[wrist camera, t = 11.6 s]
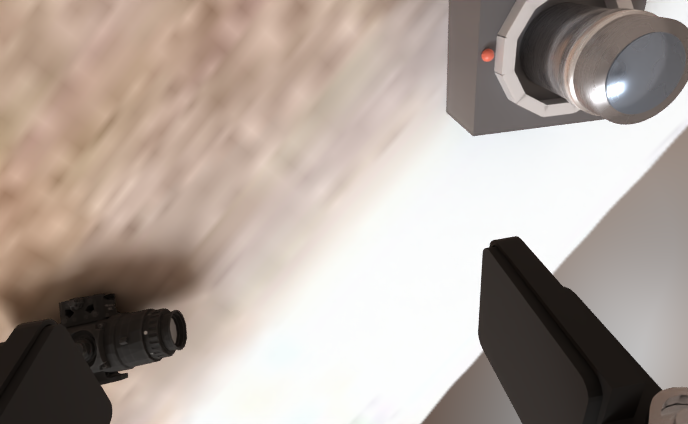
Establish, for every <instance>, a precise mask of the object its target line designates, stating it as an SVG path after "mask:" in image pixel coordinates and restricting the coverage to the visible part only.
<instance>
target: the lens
mask: <svg viewBox="0 0 688 424" xmlns="http://www.w3.org/2000/svg"><path fill="white" fill-rule="evenodd" d="M520 64H521V68H522V70H523V72H524V74H525V75H526V76H527V78H528V79H530V80H531V81H532V82H534V83H536V84H538V85H540V86H542V87H543V88H545V89H547V90H549V91H551V92H553V93H555V94H557V95H559V96H561V97H563V98H565V99H566V100H567V101H568V102H569V103H570V104H571V105H573V106H575V107H577V108H579V109H581V110H582V111H584V112H586V113H588V114H591V115H594V116H601V117H603V118H605V119H607V120H609V121H611V122H613V123H617V124H634V123H639V122H642V121H645V120H647V119H649V118H651V117H653V116H655V115H656V114H658V113H659V112H661V111H662V110H664V109H665V108H666V107H667V106H668V105H669V104H670V103H671V102H672V101H673V100H674V99H675V98H676V97H677V96H678V95H679V93H680V92H681V91H682V89H683V88H684V86H685V84H686V83H687V81H688V28H687V27H686V26H685V25H684V24H682V23H681V22H679V21H677V20H673V19H669V18H663V17H658V16H656V15H655V14H653V13H650V12H647V11H641V10H635V9H628V8H616V9H609V8H602V7H596V6H590V5H584V4H578V3H571V2H567V3H560V4H557V5H554V6H552V7H550V8H548V9H546V10H545V11H543V12H542V13H541V14H539V15H538V16H537V17H536V18H535V19H534V20H533V22H532V23H531V24H530V26H529V27H528V29H527V30H526V32H525V34H524V37H523V39H522V42H521V46H520Z"/></svg>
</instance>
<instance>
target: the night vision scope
mask: <svg viewBox="0 0 688 424" xmlns="http://www.w3.org/2000/svg"><path fill="white" fill-rule="evenodd" d="M104 295H105V294H98V295H93V296H88V297H83V298H74V299H70V300H69V301H65V302H61V303H59V307H60V317H61V323H60V324H62V325H64V326H65V328H66V329H67V331H68V332H69V334H70V336H71V337H72V339H73V340H74V342H75V344H76V345H77V347H78V349H79V350H80V352H81V354H82V355H83V357H84V359H85V360H86V362H87V364H88V365H89V367H90V369H91V370H92V372H93V374H94V375H95V377H96V378H97V380H98V382H99V383H100V385H102V384H107V383H111V382H115V381H119V380H123V379H125V378H128V373H124V374H120V373H118V372H117V371H123V370H128V369H132V368H134V367H135V366H139V365H143V364H148V363H152V362H157V361H160V360H161V359H162V358H164V357H169V356H172V355H173V354H174V353H175V351H176V350H182V349H183V348H184V347H185V344H186V340H187V332H186V323H185V320H184V317H183V315H182V314H181V312H180V311H178V310H174V311H172V312H170V311H169V310H168V309H159V310H155V309H146V310H142V311H138V312H134V313H122V314H120V313H119V312H117V311H116V308H115V304H116V303H115V295H114V294H110V295H105V296H104ZM4 343H5V342H2V343H0V349H1V348H2V346H3V345H4Z"/></svg>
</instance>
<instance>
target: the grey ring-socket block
mask: <svg viewBox="0 0 688 424" xmlns="http://www.w3.org/2000/svg"><path fill="white" fill-rule="evenodd" d="M567 2H571V3H578V4H584V5H590V6H596V7H602V8H609V9H616V8H628V9H635V10H641V11H644V9H645V5H646V0H449V25H448V66H447V107H446V112H447V113H448V114H449V115H450V116H451V117H452V118H453V119H454V120H456V121H457V122H458V123H459V124H460V125H461V126H462V127H463V128H465V129H466V130H467V131H468V132H469V133H470V134H471V135H472V136H478V135H485V134H493V133H501V132H509V131H517V130H524V129H532V128H540V127H548V126H555V125H563V124H571V123H579V122H587V121H594V120H602V119H605V118H603V117H601V116H594V115H591V114H588V113H586V112H584V111H582V110H581V109H579V108H577V107H575V106H573V105H571V104H570V103H569V102H568V101H567V100H566V99H565V98H563V97H561V96H559V95H557V94H555V93H553V92H551V91H549V90H547V89H545V88H543V87H542V86H540V85H538V84H536V83H534V82H532V81H531V80H530V79H528V78H527V76H526V75H525V74H524V72H523V70H522V68H521V64H520V46H521V42H522V39H523V37H524V34H525V32H526V30H527V29H528V27H529V26H530V24H531V23H532V22H533V20H534V19H535V18H536V17H537V16H538V15H539V14H541V13H542V12H543V11H545V10H546V9H548V8H550V7H552V6H554V5H557V4H560V3H567Z"/></svg>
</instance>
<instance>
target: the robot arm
mask: <svg viewBox="0 0 688 424" xmlns="http://www.w3.org/2000/svg"><path fill="white" fill-rule="evenodd" d="M478 335H479V340H480V344H481V346H482V349H483V350H484V352H485V354H486V356H487V358H488V360H489V362H490V364H491V365H492V367H493V369H494V371H495V373H496V375H497V377H498V379H499V380H500V382H501V384H502V386H503V388H504V390H505V392H506V394H507V395H508V397H509V399H510V401H511V403H512V405H513V407H514V409H515V410H516V412H517V414H518V416H519V418H520V420H521V422H522V424H688V388H687V387H686V388H685V387H680V388H679V387H678V388H677V387H673V388H669V389H666V390H662V389H661V388H660V387H659V386H658V385H657V384H656V383H655V382H654V381H653V379H652V378H651V377H650V376H649V375H648V374H647V373H646V372H645V370H644V369H643V368H642V367H641V366H640V365H639V364H638V363H637V362H636V360H635V359H634V358H633V357H632V356H631V355H630V354H629V353H628V352H627V351H626V349H625V348H624V347H623V346H622V345H621V344H620V343H619V342H618V340H617V339H616V338H615V337H614V336H613V335H612V334H611V333H610V332H609V330H608V329H607V328H606V327H605V326H604V325H603V324H602V323H601V322H600V320H599V319H598V318H597V317H596V316H595V315H594V314H593V313H592V312H591V311H590V309H589V308H588V307H587V306H586V305H585V304H584V303H583V302H582V300H581V299H580V298H579V297H578V296H577V295H576V294H575V293H574V292H573V291H572V290H570V289H569V288H566V287H563V286H562V285H561V284H560V283H559V282H558V280H557V279H556V278H555V277H554V276H553V275H552V274H551V272H550V271H549V270H548V269H547V268H546V267H545V266H544V265H543V263H542V262H541V261H540V260H539V259H538V258H537V257H536V255H535V254H534V253H533V252H532V251H531V250H530V249H529V247H528V246H527V245H526V244H525V243H524V242H523V241H522V240H521V239H520V238H519V237H516V236H515V237H509V238H504V239H498V240H493V241H491V243H490V247H489V248H485V249H484V250H483V258H482V275H481V292H480V310H479V327H478ZM111 418H112V405H111V402H110V400H109V398H108V397H107V395H106V393H105V392H104V390H103V388H102V387H101V385H100V383H99V382H98V380H97V378H96V377H95V375H94V374H93V372H92V370H91V369H90V367H89V365H88V364H87V362H86V360H85V359H84V357H83V355H82V354H81V352H80V350H79V349H78V347H77V345H76V344H75V342H74V340H73V339H72V337H71V336H70V334H69V332H68V331H67V329H66V328H65V326H64V325H62V324H57V323H56V322H55V321H54V320H52V319H46V320H40V321H35V322H29V323H23V324H20V325H18V326H17V327H16V328H15V329H14V331H13V332H12V333H11V335H10V336H9V338H8V339H7V340H6V342H5V343H4V345H3V346H2V348H1V349H0V424H110V421H111Z"/></svg>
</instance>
